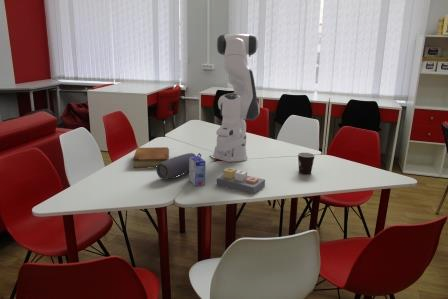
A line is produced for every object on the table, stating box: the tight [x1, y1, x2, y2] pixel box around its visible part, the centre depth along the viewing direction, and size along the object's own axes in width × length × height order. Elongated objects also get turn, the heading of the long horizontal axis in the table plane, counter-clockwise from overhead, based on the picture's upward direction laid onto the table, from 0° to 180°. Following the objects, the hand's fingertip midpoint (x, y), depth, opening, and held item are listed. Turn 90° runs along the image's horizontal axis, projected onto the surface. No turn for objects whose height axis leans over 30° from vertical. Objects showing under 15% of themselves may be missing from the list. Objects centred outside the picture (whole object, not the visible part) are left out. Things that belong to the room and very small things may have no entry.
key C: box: [246, 176, 259, 184], centre depth 181 cm, size 4×4×5 cm
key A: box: [223, 167, 237, 179], centre depth 186 cm, size 4×4×5 cm
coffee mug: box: [297, 152, 315, 176], centre depth 205 cm, size 12×9×10 cm
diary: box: [132, 146, 170, 169], centre depth 217 cm, size 23×19×6 cm
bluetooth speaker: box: [155, 152, 197, 180], centre depth 195 cm, size 23×9×10 cm, turn 145°
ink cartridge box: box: [188, 153, 206, 187], centre depth 185 cm, size 10×6×14 cm, turn 23°
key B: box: [235, 169, 248, 182], centre depth 183 cm, size 4×4×5 cm
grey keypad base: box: [216, 174, 266, 195], centre depth 184 cm, size 20×12×4 cm, turn 59°
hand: (230, 157), depth 183 cm, fingers closed
